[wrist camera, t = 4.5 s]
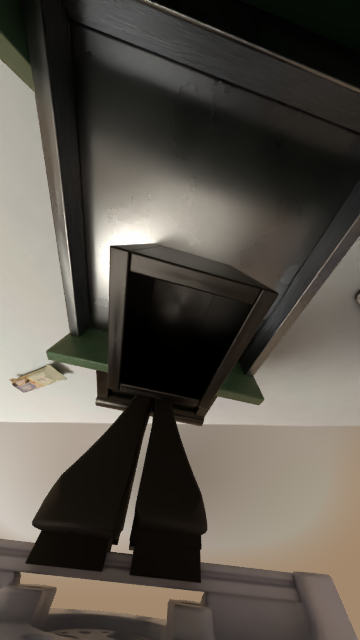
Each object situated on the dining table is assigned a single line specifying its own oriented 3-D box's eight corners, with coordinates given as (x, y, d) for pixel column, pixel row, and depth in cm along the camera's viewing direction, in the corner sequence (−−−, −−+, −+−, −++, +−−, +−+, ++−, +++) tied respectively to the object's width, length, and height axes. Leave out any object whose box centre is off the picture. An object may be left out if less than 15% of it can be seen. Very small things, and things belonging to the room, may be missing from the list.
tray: (219, 393, 15) (228, 439, 12) (92, 365, 14) (60, 406, 11) (377, 146, 6) (614, 26, 3) (70, 26, 5) (-159, -392, 2)
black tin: (199, 342, 10) (207, 409, 6) (140, 327, 10) (107, 388, 6) (231, 265, 8) (281, 293, 4) (153, 242, 8) (108, 244, 3)
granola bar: (54, 359, 15) (45, 367, 14) (70, 374, 16) (63, 382, 15) (13, 375, 16) (2, 383, 15) (30, 388, 17) (21, 396, 16)
